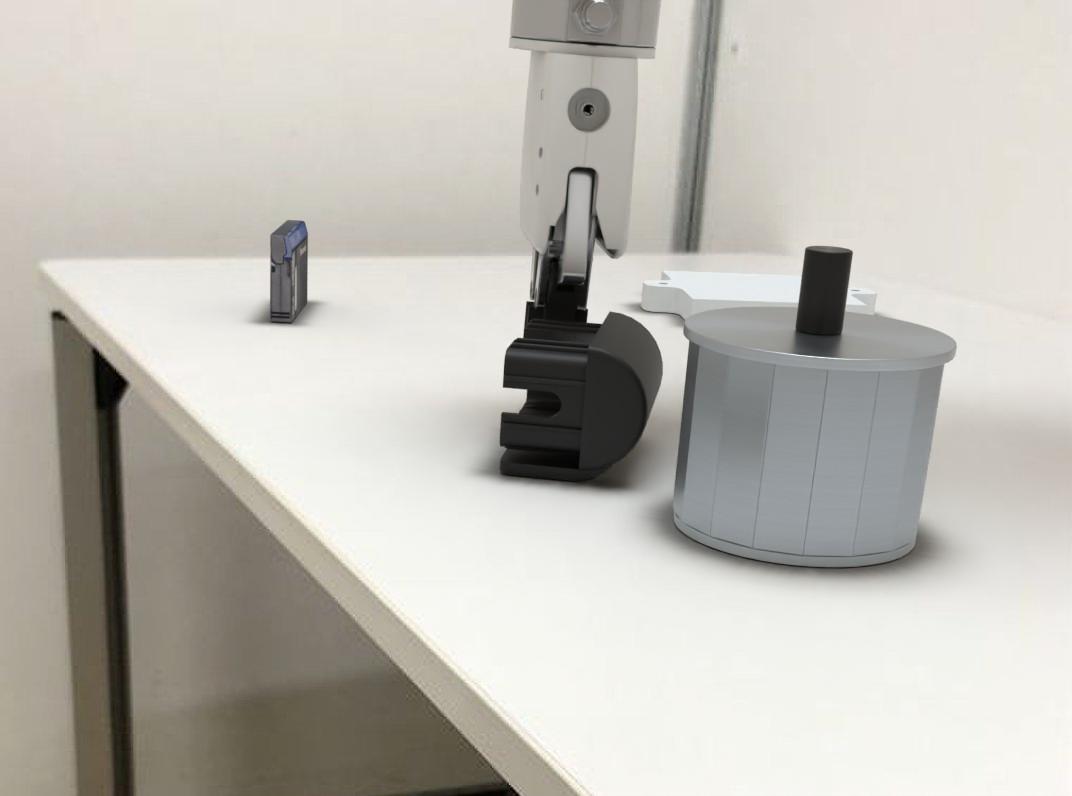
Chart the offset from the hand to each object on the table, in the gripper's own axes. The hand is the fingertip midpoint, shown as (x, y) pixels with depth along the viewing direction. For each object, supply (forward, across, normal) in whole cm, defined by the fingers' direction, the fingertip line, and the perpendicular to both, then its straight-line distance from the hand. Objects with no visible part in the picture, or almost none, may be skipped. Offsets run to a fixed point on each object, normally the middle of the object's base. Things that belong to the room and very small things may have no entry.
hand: (550, 377), depth 89 cm
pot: (+2, -19, -9) cm, 21 cm away
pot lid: (-6, -18, -9) cm, 22 cm away
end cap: (+3, -8, -1) cm, 8 cm away
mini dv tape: (+3, +30, +15) cm, 34 cm away
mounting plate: (+2, +37, -21) cm, 42 cm away
